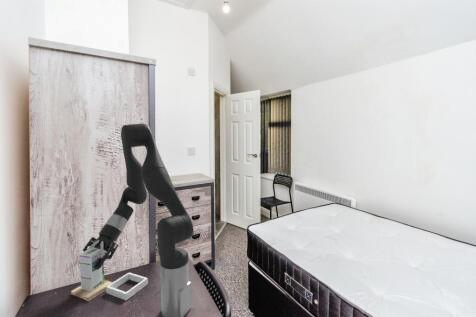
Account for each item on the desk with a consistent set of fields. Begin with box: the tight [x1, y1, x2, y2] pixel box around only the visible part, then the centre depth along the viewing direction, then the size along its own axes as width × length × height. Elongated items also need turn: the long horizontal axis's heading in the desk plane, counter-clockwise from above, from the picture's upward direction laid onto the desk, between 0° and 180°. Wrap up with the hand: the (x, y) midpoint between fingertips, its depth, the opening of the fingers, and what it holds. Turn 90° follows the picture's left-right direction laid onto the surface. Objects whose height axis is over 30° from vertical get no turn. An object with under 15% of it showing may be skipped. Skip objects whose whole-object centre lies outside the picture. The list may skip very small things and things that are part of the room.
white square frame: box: [105, 272, 149, 301], centre depth 90 cm, size 11×11×2 cm
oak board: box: [70, 279, 114, 302], centre depth 89 cm, size 10×10×1 cm
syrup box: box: [78, 248, 106, 291], centre depth 89 cm, size 6×6×14 cm
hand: (88, 266), depth 87 cm, fingers open, 8 cm apart
